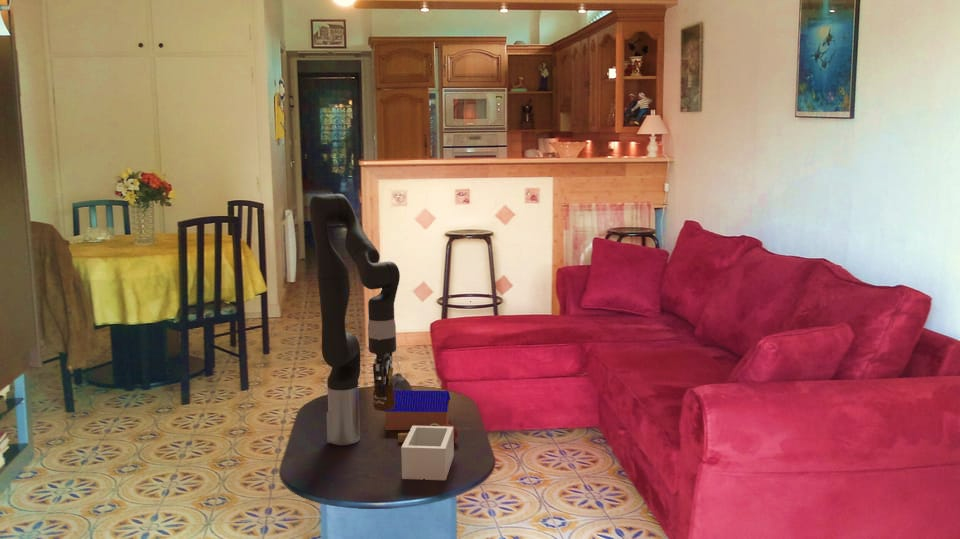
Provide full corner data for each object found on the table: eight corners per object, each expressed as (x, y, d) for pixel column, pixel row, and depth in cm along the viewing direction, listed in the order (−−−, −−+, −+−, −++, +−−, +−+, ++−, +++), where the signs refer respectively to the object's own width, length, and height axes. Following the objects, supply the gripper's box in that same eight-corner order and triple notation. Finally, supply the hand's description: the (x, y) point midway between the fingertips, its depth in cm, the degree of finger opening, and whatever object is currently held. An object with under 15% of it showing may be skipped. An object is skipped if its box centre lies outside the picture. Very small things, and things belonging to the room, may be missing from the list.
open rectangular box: (402, 478, 227) (401, 447, 226) (413, 454, 244) (412, 425, 243) (445, 480, 226) (445, 448, 225) (453, 456, 243) (453, 426, 241)
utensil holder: (383, 403, 236) (382, 362, 234) (400, 407, 233) (398, 365, 231) (369, 408, 231) (367, 366, 230) (385, 413, 228) (384, 370, 226)
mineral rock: (380, 395, 300) (380, 368, 298) (410, 393, 302) (409, 366, 301) (384, 406, 288) (383, 378, 286) (415, 404, 290) (414, 376, 288)
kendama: (397, 452, 250) (457, 445, 248) (395, 431, 250) (454, 424, 248) (402, 447, 258) (459, 440, 256) (399, 427, 258) (457, 420, 256)
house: (447, 432, 263) (446, 396, 261) (384, 431, 264) (383, 396, 262) (450, 419, 275) (450, 385, 273) (390, 418, 276) (389, 384, 274)
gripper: (374, 328, 236) (376, 385, 239) (362, 340, 222) (364, 401, 225) (400, 328, 235) (402, 386, 238) (390, 341, 221) (391, 402, 224)
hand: (384, 393), depth 231 cm, fingers closed on utensil holder, 5 cm apart
